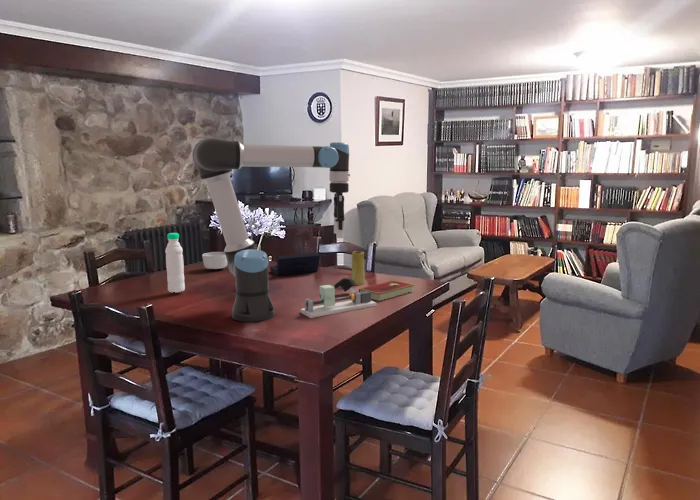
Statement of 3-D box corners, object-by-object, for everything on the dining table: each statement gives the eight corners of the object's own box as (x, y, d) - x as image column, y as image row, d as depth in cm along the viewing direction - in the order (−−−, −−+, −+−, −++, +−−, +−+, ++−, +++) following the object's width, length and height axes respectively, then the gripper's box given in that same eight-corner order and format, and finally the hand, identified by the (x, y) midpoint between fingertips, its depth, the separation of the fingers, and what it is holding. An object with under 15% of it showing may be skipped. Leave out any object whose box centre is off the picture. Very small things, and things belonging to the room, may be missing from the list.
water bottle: (182, 292, 232) (178, 234, 227) (165, 292, 232) (161, 234, 227) (187, 288, 239) (183, 232, 234) (170, 288, 239) (167, 232, 234)
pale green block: (325, 307, 199) (325, 288, 197) (319, 304, 202) (319, 286, 201) (334, 305, 201) (334, 287, 199) (329, 302, 204) (328, 284, 203)
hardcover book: (358, 297, 223) (358, 287, 222) (392, 289, 237) (392, 279, 236) (380, 303, 214) (380, 292, 213) (414, 293, 229) (414, 284, 228)
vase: (351, 282, 248) (350, 251, 246) (364, 281, 249) (364, 250, 246) (352, 285, 242) (351, 253, 240) (365, 284, 243) (365, 253, 240)
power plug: (327, 289, 231) (349, 273, 228) (338, 303, 231) (360, 287, 228) (324, 292, 226) (346, 276, 223) (335, 307, 226) (358, 290, 223)
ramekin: (222, 263, 294) (221, 250, 293) (233, 267, 284) (232, 254, 283) (198, 266, 286) (198, 253, 285) (209, 270, 276) (208, 257, 275)
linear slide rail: (310, 318, 194) (310, 303, 193) (300, 312, 201) (300, 298, 200) (376, 306, 208) (376, 292, 207) (365, 301, 215) (365, 288, 214)
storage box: (308, 267, 284) (308, 248, 282) (320, 273, 269) (320, 253, 267) (270, 271, 275) (269, 251, 274) (279, 277, 261) (279, 256, 259)
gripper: (352, 183, 204) (351, 240, 207) (345, 181, 228) (344, 231, 232) (331, 183, 203) (331, 240, 206) (327, 181, 227) (327, 231, 231)
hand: (338, 235), depth 219 cm, fingers open, 13 cm apart
